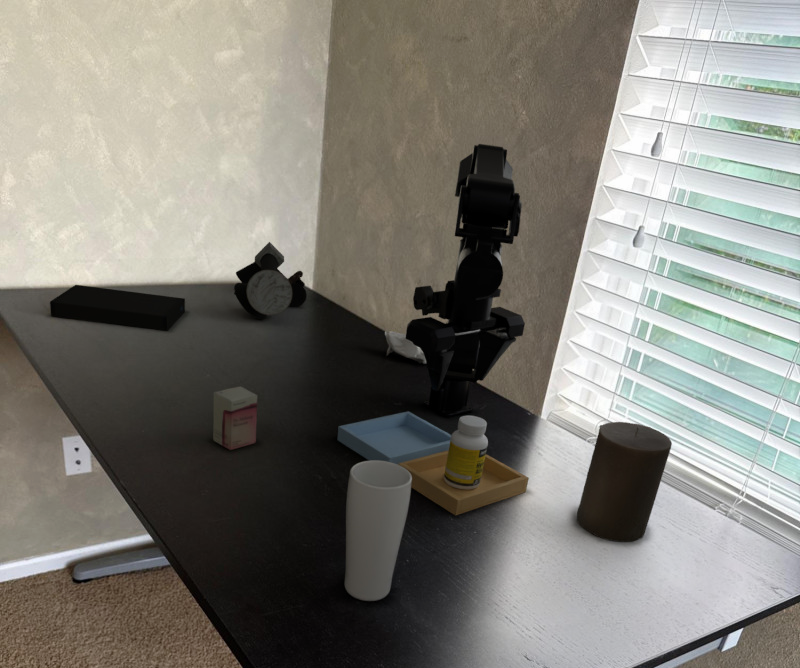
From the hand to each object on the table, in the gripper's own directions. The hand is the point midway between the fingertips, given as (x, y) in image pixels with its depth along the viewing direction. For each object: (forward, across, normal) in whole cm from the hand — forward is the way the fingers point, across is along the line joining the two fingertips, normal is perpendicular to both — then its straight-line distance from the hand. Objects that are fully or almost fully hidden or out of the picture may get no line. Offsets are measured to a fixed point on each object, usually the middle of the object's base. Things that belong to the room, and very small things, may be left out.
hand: (457, 384), depth 120 cm
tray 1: (+13, +4, -7) cm, 15 cm away
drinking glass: (+12, +33, +21) cm, 41 cm away
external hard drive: (+14, +14, -84) cm, 86 cm away
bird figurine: (+14, -27, -38) cm, 49 cm away
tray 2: (+12, +4, +7) cm, 15 cm away
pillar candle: (+12, -7, +26) cm, 30 cm away
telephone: (+14, -19, -79) cm, 82 cm away
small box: (+13, +25, -20) cm, 35 cm away
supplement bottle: (+12, +4, +7) cm, 15 cm away
